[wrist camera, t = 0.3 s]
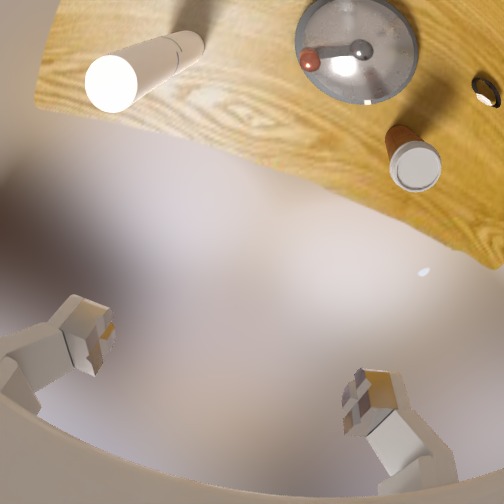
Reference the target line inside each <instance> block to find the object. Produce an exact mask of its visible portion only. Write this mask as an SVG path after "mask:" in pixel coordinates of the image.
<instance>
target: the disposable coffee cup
mask: <svg viewBox="0 0 504 504" xmlns="http://www.w3.org/2000/svg"><path fill="white" fill-rule="evenodd" d="M385 143H386V147H387V152H388V156H389V160H390V174H391V177H392V179H393V181H394V182H395V183H396V184H397V185H398V186H400V187H401V188H403V189H404V190H406V191H410V192H422V191H425V190H427V189H429V188H430V187H432V186H433V185H434V184H435V183H436V181H437V180H438V179H439V176H440V173H441V159H440V156H439V153H438V152H437V150H436V149H435V148H434V147H433V146H432V145H430V144H428V143H426V142H425V141H423V140H422V139H421V138H420V137H419V136H418V135H417V134H415V133H414V132H413V131H412V130H411V129H410V128H408V127H407V126H403V125H397V126H394V127H392V128H391V129H390V130H389V131H388V132H387V134H386V136H385Z"/></svg>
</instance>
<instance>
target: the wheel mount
mask: <svg viewBox="0 0 504 504" xmlns="http://www.w3.org/2000/svg"><path fill="white" fill-rule="evenodd" d="M332 1H334V0H317V1H315V2H314V3H313V4H312V5H311V6H309V7H308V9H307V10H306V11H305V12H304V14H303V15H302V17H301V18H300V20H299V23H298V25H297V29H296V33H295V50H296V55H297V58H298V61H299V64H300V51H301V50H302V49H303V35H304V31H305V28H306V25H307V23H308V21H309V20H310V18H311V17H312V15H313V14H314V13H315V12H316V11H317V10H318V9H320V8H321V7H322V6H324V5H325V4H327V3H329V2H332ZM372 1H374V2H377V3H379V4H381V5H383V6H385V7H387V8H388V9H389V10H391V11H392V12H393V13H395V14H396V15H397V16H398V17H399V18H400V20H401V21H402V22H403V23H404V25H405V26H406V28H407V30H408V31H409V34H410V36H411V39H412V42H413V47H414V62H413V66H412V69H411V72H410V74H409V76H408V78H407V79H406V81H405V82H404V83H403V84H402V85H401V86H400V87H399V88H398V89H397V90H396V91H394V92H393V93H391V94H389V95H387V96H384V97H382V98H378V99H373V100H355V99H350V98H347V97H344V96H341V95H339V94H336V93H334V92H333V91H331V90H329V89H328V88H327V87H325V86H324V85H323V84H322V83H321V82H320V81H319V80H318V79H317V78H316V77H315V76H314V74H313V73H312V72H307V71H305V70H303V69H302V70H303V71H304V73H305V75H306V76H307V77H308V78H309V80H310V81H311V82H312V83H313V84H314V85H315V86H316V87H317V88H318V89H320V90H321V91H322V92H324V93H326V94H327V95H329V96H331V97H333V98H335V99H337V100H340V101H343V102H347V103H351V104H360V105H361V104H365V105H371V104H375V103H379V102H383V101H385V100H388V99H390V98H392V97H393V96H395V95H397V94H398V93H399V92H401V91H402V90H403V89H404V88H405V87H406V86H407V84H408V83H409V82H410V80H411V78H412V77H413V75H414V72H415V70H416V66H417V62H418V46H417V41H416V37H415V34H414V32H413V30H412V28H411V26H410V24H409V23H408V21H407V20H406V18H405V17H404V16H403V15H402V14H401V12H400V11H398V10H397V9H396V8H395V7H394V6H393V5H391V4H390V3H388V2H387V1H385V0H372ZM301 68H302V67H301Z"/></svg>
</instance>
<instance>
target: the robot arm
mask: <svg viewBox="0 0 504 504" xmlns="http://www.w3.org/2000/svg"><path fill="white" fill-rule="evenodd" d="M113 318H114V315H113V310H112V309H110V308H108V307H106V306H103V305H100V304H98V303H95V302H93V301H90V300H88V299H85V298H82V297H80V296H77V295H75V294H74V295H71V296H70V297H69V298H68V299H67V300H66V301H65V302H64V303H63V305H62V306H61V307H60V308H59V309H58V310H57V312H56V313H55V314H54V315H53V316H52V317H51V318H50V320H49V321H48V322H47V323H44V322H42V323H39V324H36V325H34V326H31V327H29V328H26V329H23V330H21V331H18V332H15V333H13V334H10V335H7V336H5V337H2V338H0V504H504V468H503V469H500V470H497V471H495V472H492V473H488V474H485V475H482V476H479V477H476V478H472V479H468V480H465V481H461V482H459V480H458V475H457V470H456V465H455V461H454V457H453V453H452V451H451V450H450V448H448V446H447V445H446V444H445V443H444V442H443V441H442V440H441V439H440V438H439V436H438V435H437V434H436V433H435V432H434V431H433V430H432V429H431V427H430V426H429V425H428V424H427V423H426V422H425V421H424V420H423V419H422V418H421V416H420V415H419V414H418V413H417V412H416V411H415V410H411V407H410V403H409V399H408V395H407V391H406V388H405V384H404V381H403V377H402V375H401V373H400V372H392V371H384V370H375V369H366V368H360V369H358V370H357V372H356V373H355V374H354V376H355V380H353V381H351V382H349V383H348V384H347V386H346V387H345V389H344V392H343V396H342V408H343V410H344V411H345V412H346V413H347V414H346V416H345V417H344V418H343V423H344V435H350V436H363V437H366V438H367V440H368V442H369V443H370V445H371V447H372V448H373V450H374V451H375V453H376V454H377V456H378V458H379V459H380V461H381V462H382V464H383V466H384V467H385V469H386V470H387V472H388V474H389V475H390V477H389V478H387V479H386V480H384V481H382V482H381V483H380V484H379V485H378V496H366V497H340V498H320V497H296V496H282V495H273V494H264V493H256V492H249V491H242V490H236V489H230V488H224V487H220V486H215V485H210V484H206V483H201V482H197V481H193V480H189V479H185V478H181V477H178V476H174V475H171V474H167V473H164V472H161V471H157V470H154V469H151V468H148V467H145V466H142V465H140V464H137V463H134V462H131V461H128V460H126V459H123V458H120V457H118V456H116V455H113V454H111V453H108V452H106V451H104V450H101V449H99V448H97V447H94V446H92V445H90V444H88V443H86V442H84V441H82V440H80V439H77V438H76V437H74V436H72V435H70V434H68V433H66V432H64V431H62V430H60V429H58V428H56V427H55V426H53V425H51V424H49V423H47V422H46V421H44V420H42V419H41V418H39V417H37V414H38V412H39V411H40V409H41V404H40V402H39V400H38V399H37V397H36V395H35V394H34V393H35V392H36V391H38V390H40V389H41V388H43V387H45V386H46V385H48V384H50V383H52V382H53V381H55V380H57V379H58V378H60V377H62V376H63V375H65V374H66V373H68V372H70V371H72V370H73V369H74V368H76V369H78V370H81V371H83V372H86V373H88V374H90V375H93V376H96V374H97V372H98V370H99V369H100V367H101V366H102V364H103V357H102V356H103V355H105V354H107V353H109V352H110V350H111V349H112V347H113V344H114V341H115V335H116V332H115V326H114V325H113V324H112V322H111V321H112V319H113Z"/></svg>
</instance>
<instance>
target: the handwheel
mask: <svg viewBox="0 0 504 504" xmlns="http://www.w3.org/2000/svg"><path fill="white" fill-rule="evenodd" d="M413 62H414V47H413V42H412V39H411V36H410V34H409V31H408V30H407V28H406V26H405V25H404V23H403V22H402V21H401V20H400V18H399V17H398V16H397V15H396V14H395V13H393V12H392V11H391V10H389V9H388V8H387V7H385V6H383V5H381V4H379V3H377V2H374V1H372V0H334V1H332V2H329V3H327V4H325V5H324V6H322V7H321V8H320V9H318V10H317V11H316V12H315V13H314V14H313V15H312V17H311V18H310V20H309V21H308V23H307V25H306V28H305V31H304V35H303V49H302V50H301V51H300V66H301V67H302V69H303V70H305V71H307V72H312V73H313V74H314V76H315V77H316V78H317V79H318V80H319V81H320V82H321V83H322V84H323V85H324V86H325V87H327V88H328V89H329V90H331V91H333V92H334V93H336V94H339V95H341V96H344V97H347V98H350V99H355V100H373V99H378V98H382V97H384V96H387V95H389V94H391V93H393V92H394V91H396V90H397V89H398V88H399V87H400V86H401V85H402V84H403V83H404V82H405V81H406V79H407V78H408V76H409V74H410V72H411V69H412V66H413Z"/></svg>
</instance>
